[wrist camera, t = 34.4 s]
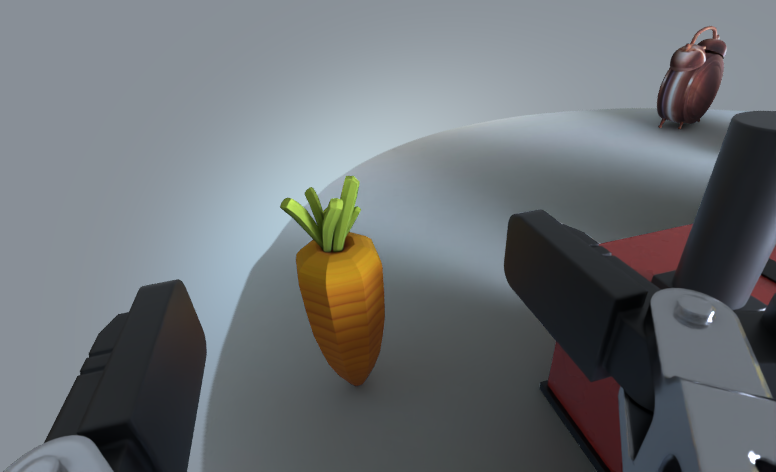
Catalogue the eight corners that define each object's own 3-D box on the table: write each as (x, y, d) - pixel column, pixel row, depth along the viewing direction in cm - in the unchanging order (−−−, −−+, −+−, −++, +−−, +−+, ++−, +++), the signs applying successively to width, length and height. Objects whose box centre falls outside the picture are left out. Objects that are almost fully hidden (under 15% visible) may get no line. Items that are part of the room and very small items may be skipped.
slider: (765, 319, 15) (870, 127, 12) (712, 333, 15) (804, 139, 11) (695, 274, 18) (762, 105, 14) (648, 285, 17) (705, 114, 14)
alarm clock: (680, 116, 73) (708, 22, 65) (710, 122, 69) (744, 23, 61) (645, 129, 68) (671, 30, 60) (676, 136, 65) (707, 31, 57)
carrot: (313, 412, 26) (257, 205, 18) (332, 353, 30) (293, 164, 23) (389, 418, 25) (364, 205, 18) (398, 357, 30) (381, 162, 22)
